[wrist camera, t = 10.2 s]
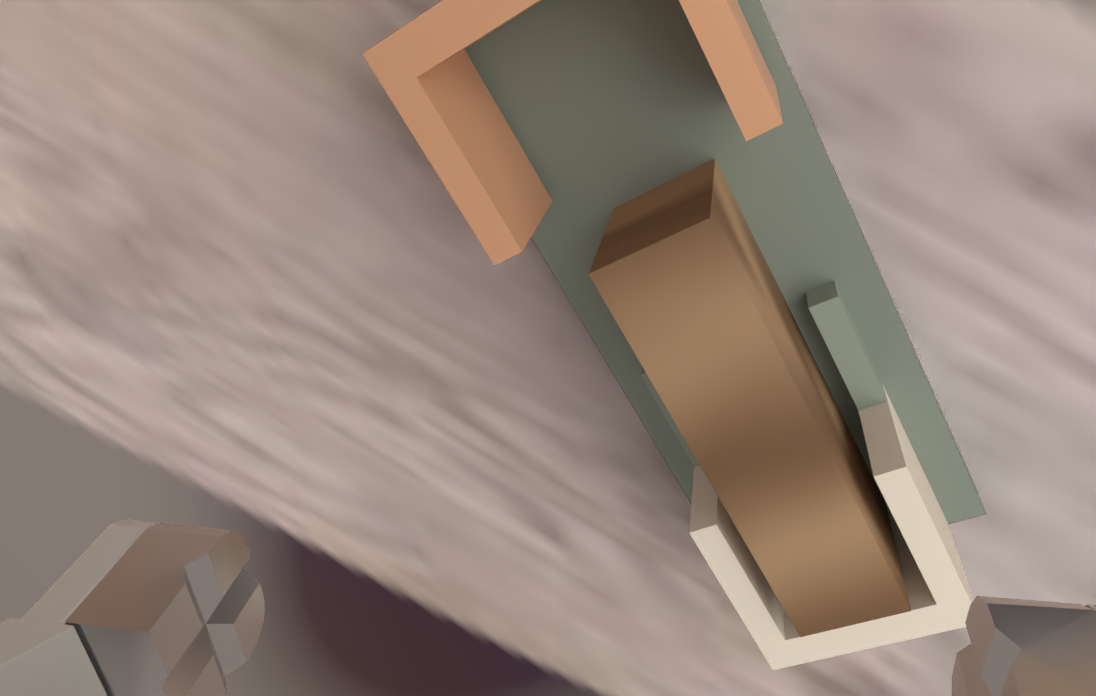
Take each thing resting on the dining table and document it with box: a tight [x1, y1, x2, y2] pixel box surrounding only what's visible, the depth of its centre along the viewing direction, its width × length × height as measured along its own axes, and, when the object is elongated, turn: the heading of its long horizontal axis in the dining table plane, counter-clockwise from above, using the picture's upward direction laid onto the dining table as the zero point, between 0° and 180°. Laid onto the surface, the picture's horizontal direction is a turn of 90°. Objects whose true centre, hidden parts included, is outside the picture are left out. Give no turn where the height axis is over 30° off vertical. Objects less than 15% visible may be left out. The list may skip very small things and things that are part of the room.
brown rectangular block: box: [589, 159, 911, 637], centre depth 22 cm, size 12×3×4 cm, turn 31°
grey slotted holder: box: [465, 0, 986, 670], centre depth 22 cm, size 20×8×5 cm, turn 31°
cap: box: [362, 0, 783, 266], centre depth 19 cm, size 6×7×4 cm
